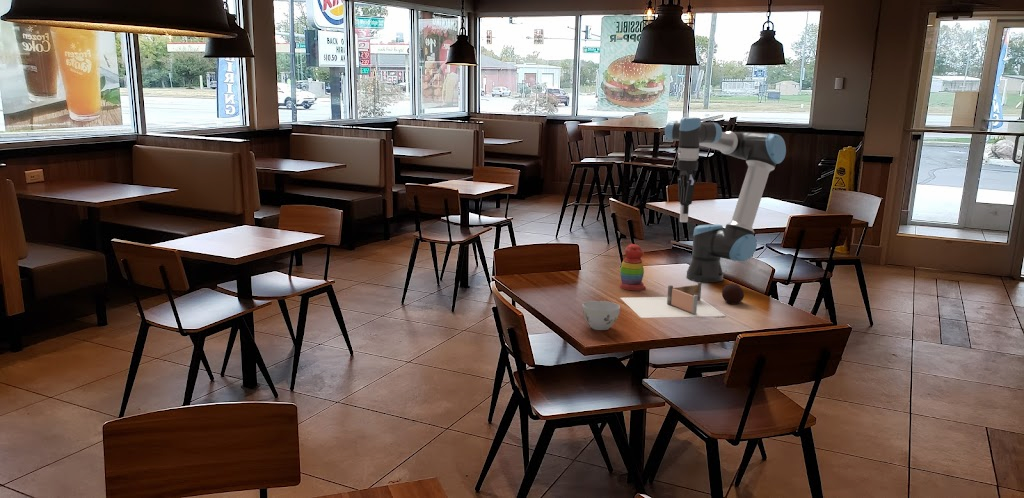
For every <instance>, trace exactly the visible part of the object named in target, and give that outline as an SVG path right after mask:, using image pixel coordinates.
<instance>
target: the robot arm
mask: <svg viewBox="0 0 1024 498" xmlns="http://www.w3.org/2000/svg"><path fill="white" fill-rule="evenodd" d="M722 128H723V127H721V125H720V124H719V123H718V122H702V120H701V118H700V117H682V118H681V119H680V120H670V121H669V122H667V123H666V125H665V128H664V136H665V138H666V139H667V140H671V141H677V142H678V148H677V149H678V150H677V163H676V169H677V170H679V171H680V175H679V176H678V175H677V189H678V191H677V193H678V194H677V195H678V196H677V197H678V202H679V204H680V210H679V212H680V213H679V222H680V223H688V222H689V207H690V205H692V204H693V198H694V192H695V186H696V183H697V179H694V172H695V171H698V170H699V168H698V167H699V160H698V159H699V156H700V146H701V147H705V148H708V149H713V150H717V151H719V152H721V154H723V155H727V156H731V157H733V158H737V159H741V160H743V161H744V160H745V163H746V165H747V169H746V173H745V177H744V180H743V183H742V185H741V189H740V193H739V195H738V199H737V203H736V205H735V208H734V212H733V215H732V219H731V221H730V222H728V223H726V224H725V228H724V227H723V226H724V225H722V224H718V223H717V224H713V223H711V224H699V225H697V226H695V227H694V229H693V234H692V237H693V238H692V250H691V251H692V255H691V261H690V263H689V266H688V267H687V271H686V278H687V279H689V280H691V281H695V282H701V283H719V282H722V281H723V280H724V272H723V269H722V265H721V259H726V260H730V261H732V262H741V263H743V262H744V263H745V262H747V261H748V260H749V259H751V258H752V257H753V255H754V254H755V253H756V250H757V246H758V243H757V242H758V241H757V237H756V236H755V231H754V229H753V226H754V223H755V220H756V216H757V213H758V211H759V206H760V204H761V201H762V197H763V193H764V190H765V188H766V184H767V182H768V178H769V174H770V173H771V172H773V171H774V170H775V168H776V167H777V166H776V165H777V164H778V165H779V164H781V163H782V162H783V161H784V159H785V157H786V154H787V148H786V142H785V140H784V138H783V137H782V136H781V135H779V134H776V133H775V134H774V133H771V132H769V133H765V132H764V133H763V132H750V131H749V132H748V131H747V132H746V131H742V132H741V131H740V132H739V131H738V132H737V131H736V132H735V131H731V130H729V131H723V129H722Z"/></svg>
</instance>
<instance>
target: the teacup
mask: <svg viewBox="0 0 1024 498" xmlns="http://www.w3.org/2000/svg"><path fill="white" fill-rule="evenodd" d="M581 307H582V313H583V317H584V320H585V321H586V322H587V324H588V325H589V326H590V328H591V329H592V330H596V331H606V330H609V329H610V328H611V327H612V326H613V325H614V323H616V321H617V319H618V317H619V315H620V311H621V305H620V304H618V303H615V302H612V301H608V300H607V301H605V300H600V301H599V300H588V301H585V302H583V303H582V305H581Z"/></svg>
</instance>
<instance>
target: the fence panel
mask: <svg viewBox="0 0 1024 498" xmlns="http://www.w3.org/2000/svg"><path fill="white" fill-rule="evenodd" d="M697 298H698V295H694V296H692V295H690V294H687V293H684V292H682V291H679V290H676V289H672V299H671V305H674V306H676V307H678V308H681V309H683V310H686V311H688V312H691V313H692V314H696V312H697Z"/></svg>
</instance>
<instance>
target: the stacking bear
mask: <svg viewBox="0 0 1024 498" xmlns="http://www.w3.org/2000/svg"><path fill="white" fill-rule="evenodd" d="M624 252H625V258H624V259H623V260H622V262H621V266H620V270H619V271H620V272H619V274H620V281H621V282H620V285H619V287H620V289H623V290H628V291H637V292H642V291H647V288H646V286H645V284H644V282H643V278H644V276H645V275H644V272H645V269H644V263H643V260H642V259H641V258H642V257H643V256H644V254H645V252H644V250H642V248H641V247H640V245H638V244H635V243H634V244H633V242H632V243H630V244H629V245H627V246H626V247H625V250H624Z"/></svg>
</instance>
